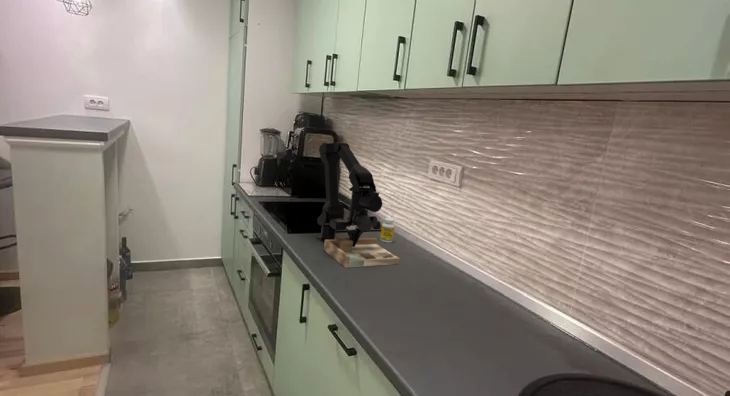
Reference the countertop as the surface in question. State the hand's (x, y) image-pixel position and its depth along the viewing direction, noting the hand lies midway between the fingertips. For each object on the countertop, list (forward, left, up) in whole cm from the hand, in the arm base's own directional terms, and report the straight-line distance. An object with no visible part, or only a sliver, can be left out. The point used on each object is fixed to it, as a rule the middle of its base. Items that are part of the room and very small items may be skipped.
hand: (353, 246), depth 149 cm
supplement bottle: (-14, +24, -3) cm, 28 cm away
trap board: (+3, +2, -3) cm, 5 cm away
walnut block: (0, -4, -1) cm, 4 cm away
